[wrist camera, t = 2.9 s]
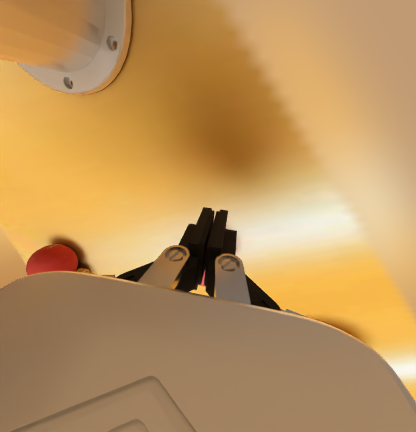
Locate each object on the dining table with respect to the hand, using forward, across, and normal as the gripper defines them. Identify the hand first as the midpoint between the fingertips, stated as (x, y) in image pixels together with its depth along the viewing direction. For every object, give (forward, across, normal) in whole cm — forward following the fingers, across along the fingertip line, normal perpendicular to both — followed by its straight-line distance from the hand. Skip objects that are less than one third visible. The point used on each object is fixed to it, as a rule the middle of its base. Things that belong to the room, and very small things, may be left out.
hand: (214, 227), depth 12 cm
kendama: (+9, +25, +21) cm, 34 cm away
